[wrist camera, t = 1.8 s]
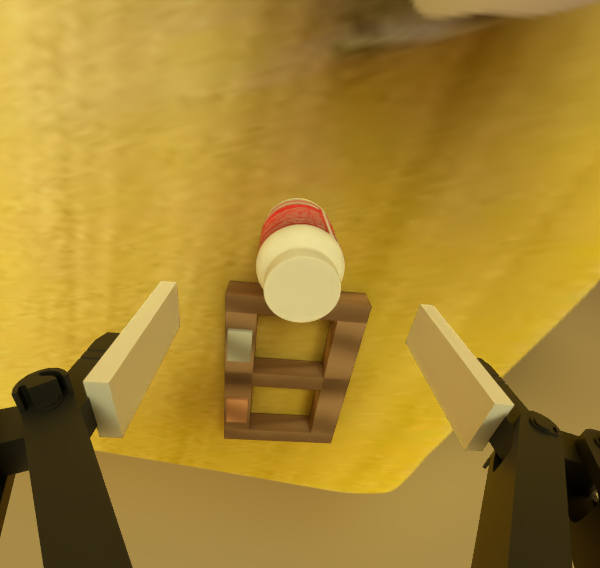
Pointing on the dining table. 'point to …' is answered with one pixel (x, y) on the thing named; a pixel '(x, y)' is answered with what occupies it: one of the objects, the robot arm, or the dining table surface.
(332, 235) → the pill bottle
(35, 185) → the dining table surface
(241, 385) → the socket board
